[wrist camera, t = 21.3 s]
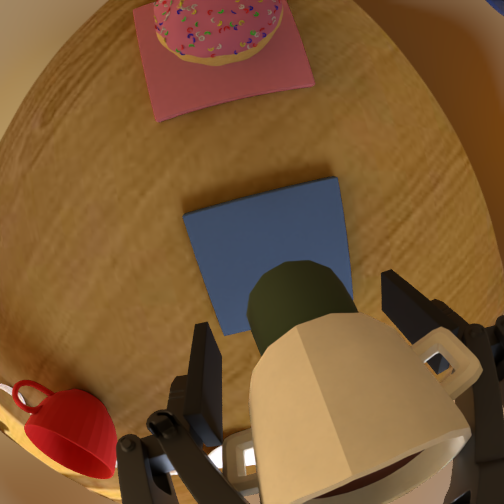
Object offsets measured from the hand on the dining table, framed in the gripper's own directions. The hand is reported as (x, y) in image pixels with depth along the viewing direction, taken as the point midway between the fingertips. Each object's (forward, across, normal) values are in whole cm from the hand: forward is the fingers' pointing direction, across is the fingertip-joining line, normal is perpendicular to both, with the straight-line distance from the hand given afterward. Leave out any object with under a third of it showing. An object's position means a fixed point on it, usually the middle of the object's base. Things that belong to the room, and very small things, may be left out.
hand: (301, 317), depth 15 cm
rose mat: (+9, 0, +20) cm, 22 cm away
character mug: (+2, 0, 0) cm, 2 cm away
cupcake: (+9, 0, +20) cm, 22 cm away
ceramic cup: (+10, -31, -13) cm, 35 cm away
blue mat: (+9, 0, 0) cm, 9 cm away
